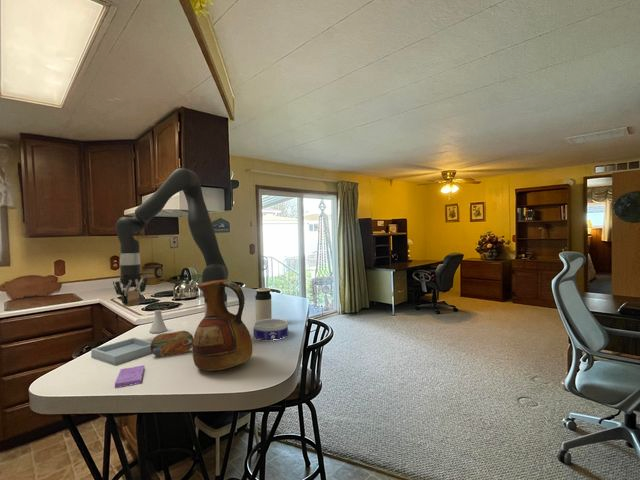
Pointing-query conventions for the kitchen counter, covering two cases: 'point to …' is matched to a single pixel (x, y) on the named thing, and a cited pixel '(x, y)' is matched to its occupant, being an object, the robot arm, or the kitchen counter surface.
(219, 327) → the ceramic pitcher
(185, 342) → the tin
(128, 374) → the sponges
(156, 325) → the flask
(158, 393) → the kitchen counter surface
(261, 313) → the travel mug
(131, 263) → the robot arm
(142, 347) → the tray
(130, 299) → the walnut block
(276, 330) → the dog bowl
